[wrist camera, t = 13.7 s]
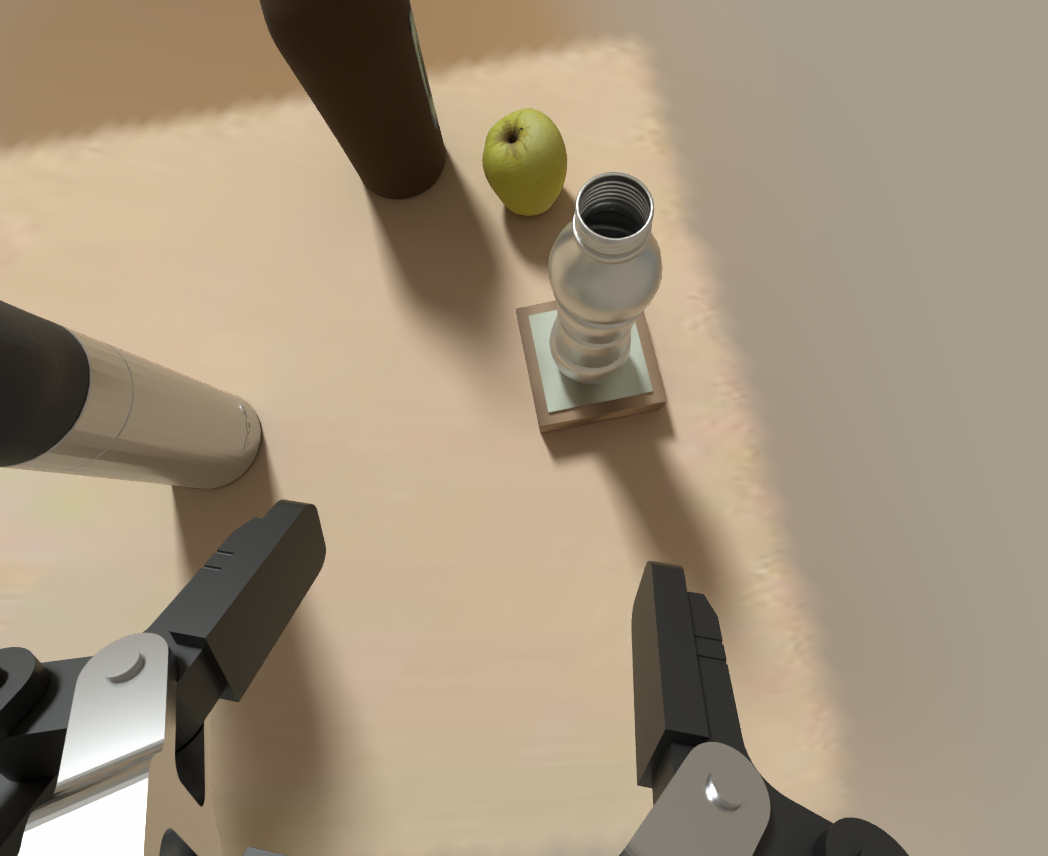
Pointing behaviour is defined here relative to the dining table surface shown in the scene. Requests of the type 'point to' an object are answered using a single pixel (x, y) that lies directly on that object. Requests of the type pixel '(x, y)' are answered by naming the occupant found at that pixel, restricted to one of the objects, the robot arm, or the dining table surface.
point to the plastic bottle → (602, 276)
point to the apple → (525, 161)
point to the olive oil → (365, 85)
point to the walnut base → (587, 403)
